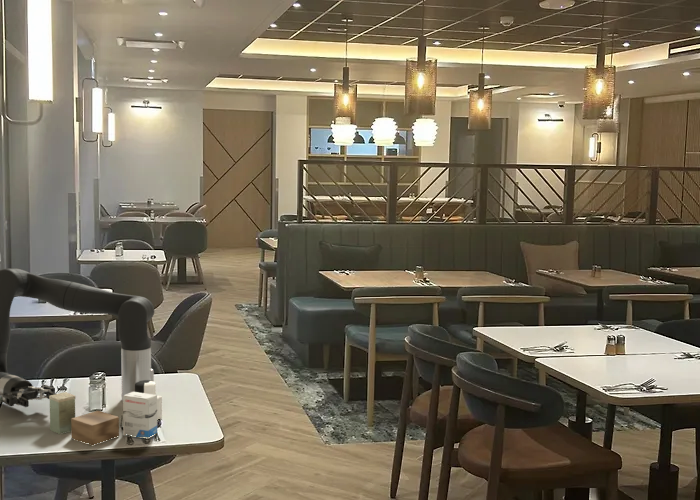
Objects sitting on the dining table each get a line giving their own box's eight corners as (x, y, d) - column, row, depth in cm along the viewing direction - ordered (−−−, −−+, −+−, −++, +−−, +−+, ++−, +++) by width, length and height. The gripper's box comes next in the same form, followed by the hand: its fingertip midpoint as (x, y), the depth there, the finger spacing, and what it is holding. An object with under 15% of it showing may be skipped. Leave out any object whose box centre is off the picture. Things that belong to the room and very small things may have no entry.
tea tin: (66, 425, 231) (65, 392, 229) (75, 430, 227) (75, 395, 226) (49, 430, 227) (49, 395, 225) (59, 434, 223) (58, 399, 222)
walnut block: (98, 430, 228) (97, 410, 227) (118, 437, 223) (118, 416, 222) (71, 439, 220) (71, 418, 220) (92, 446, 215) (92, 425, 215)
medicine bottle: (128, 422, 234) (127, 383, 233) (142, 415, 241) (142, 377, 240) (148, 426, 232) (148, 386, 231) (162, 418, 239) (162, 380, 237)
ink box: (158, 434, 226) (158, 394, 224) (148, 440, 221) (148, 399, 220) (132, 430, 228) (132, 390, 227) (122, 435, 224) (122, 395, 222)
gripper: (-9, 381, 238) (17, 393, 228) (36, 372, 249) (63, 383, 239) (-8, 405, 239) (18, 418, 229) (36, 395, 250) (63, 407, 240)
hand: (41, 400), depth 234 cm, fingers open, 8 cm apart
